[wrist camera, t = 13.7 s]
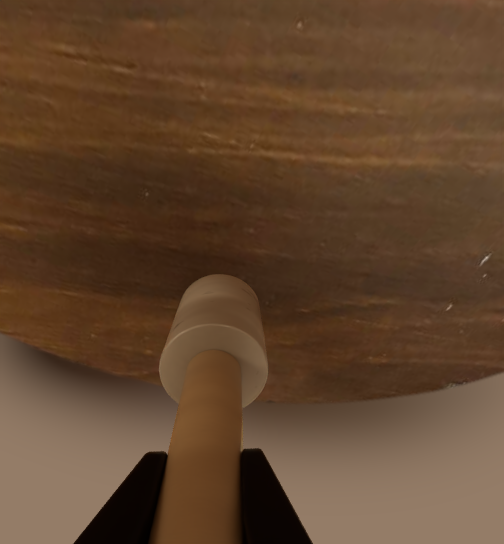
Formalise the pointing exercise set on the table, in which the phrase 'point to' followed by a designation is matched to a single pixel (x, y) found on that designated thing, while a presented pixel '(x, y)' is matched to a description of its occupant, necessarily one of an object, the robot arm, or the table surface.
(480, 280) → the table surface
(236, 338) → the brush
